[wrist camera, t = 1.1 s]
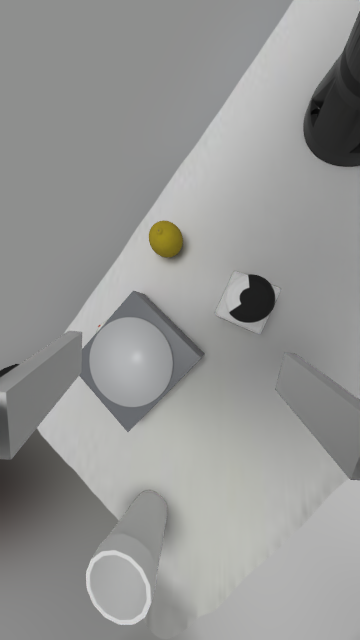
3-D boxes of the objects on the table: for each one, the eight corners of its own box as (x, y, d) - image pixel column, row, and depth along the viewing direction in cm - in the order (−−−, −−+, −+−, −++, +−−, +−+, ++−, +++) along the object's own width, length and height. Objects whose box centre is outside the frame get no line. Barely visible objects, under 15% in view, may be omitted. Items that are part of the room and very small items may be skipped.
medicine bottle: (272, 294, 38) (292, 281, 26) (254, 332, 38) (265, 337, 27) (233, 278, 39) (234, 260, 28) (216, 315, 40) (210, 313, 28)
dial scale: (141, 291, 43) (129, 287, 37) (204, 354, 40) (200, 358, 35) (84, 357, 46) (64, 361, 40) (139, 419, 43) (126, 433, 37)
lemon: (160, 231, 42) (145, 211, 34) (189, 234, 41) (179, 213, 33) (155, 260, 42) (138, 246, 35) (183, 264, 41) (172, 250, 33)
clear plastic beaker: (124, 522, 43) (81, 605, 30) (132, 475, 43) (90, 539, 30) (171, 540, 41) (145, 637, 28) (179, 491, 41) (156, 567, 28)
